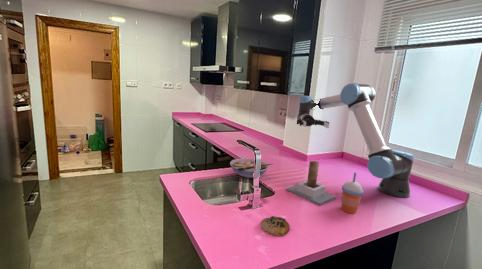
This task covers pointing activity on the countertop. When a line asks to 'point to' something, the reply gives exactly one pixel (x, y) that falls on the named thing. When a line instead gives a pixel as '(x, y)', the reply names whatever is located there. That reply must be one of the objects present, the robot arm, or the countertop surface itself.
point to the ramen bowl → (247, 167)
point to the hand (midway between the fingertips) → (316, 125)
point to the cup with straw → (351, 195)
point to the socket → (311, 193)
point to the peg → (312, 174)
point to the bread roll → (275, 226)
